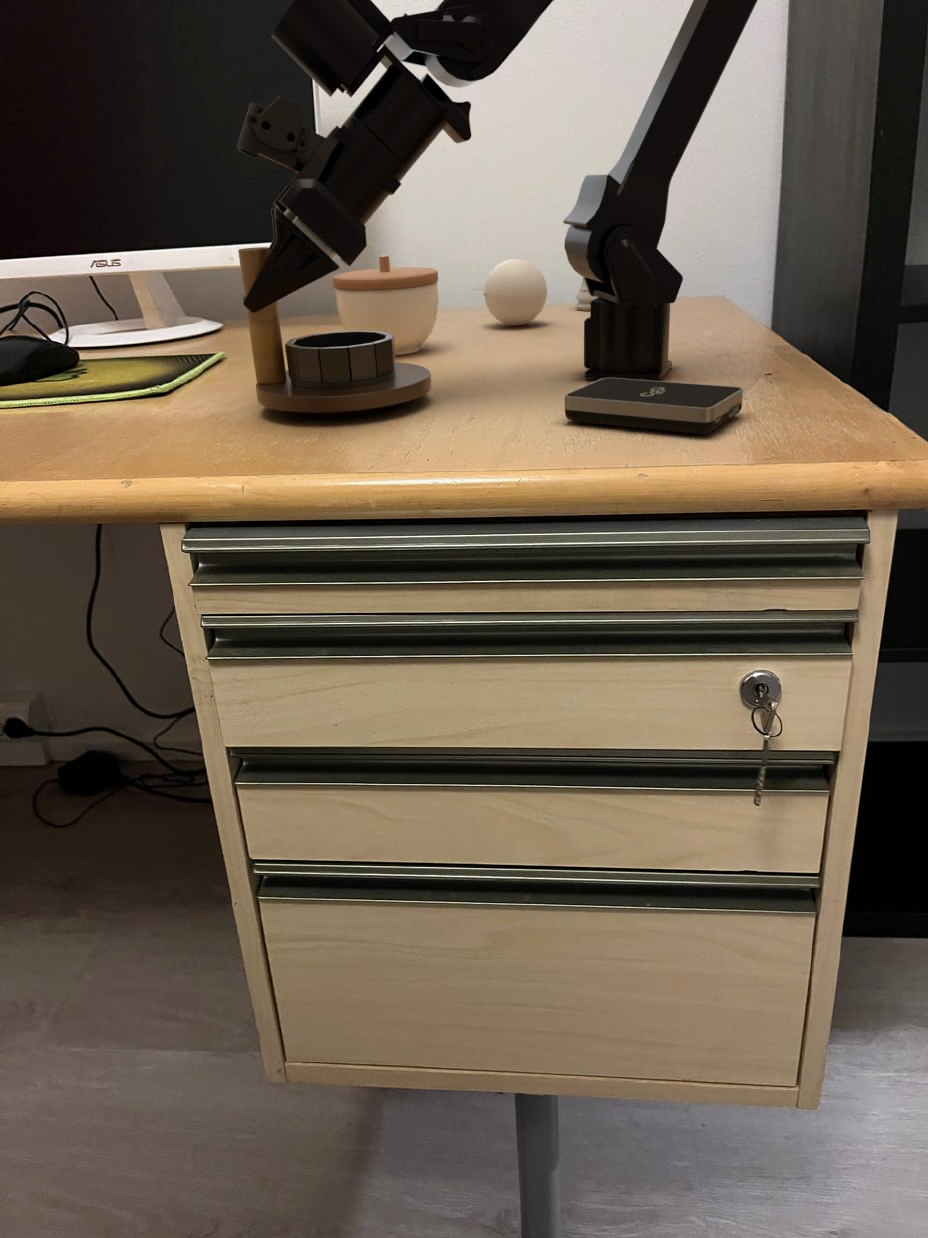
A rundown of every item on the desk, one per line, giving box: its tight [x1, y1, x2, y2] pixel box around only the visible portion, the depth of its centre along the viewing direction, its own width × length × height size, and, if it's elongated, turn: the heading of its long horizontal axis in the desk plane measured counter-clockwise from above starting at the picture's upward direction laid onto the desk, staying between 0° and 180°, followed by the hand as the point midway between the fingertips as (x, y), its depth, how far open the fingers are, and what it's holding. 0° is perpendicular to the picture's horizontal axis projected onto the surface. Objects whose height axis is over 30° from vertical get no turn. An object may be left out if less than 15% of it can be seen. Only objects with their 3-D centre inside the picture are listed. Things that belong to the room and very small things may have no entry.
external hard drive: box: [564, 378, 744, 435], centre depth 68 cm, size 7×11×2 cm, turn 56°
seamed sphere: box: [470, 258, 548, 326], centre depth 111 cm, size 10×7×7 cm
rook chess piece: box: [575, 276, 598, 312], centre depth 120 cm, size 4×4×8 cm
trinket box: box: [332, 255, 439, 356], centre depth 98 cm, size 11×11×9 cm
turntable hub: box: [299, 405, 394, 418], centre depth 77 cm, size 8×8×1 cm
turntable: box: [237, 246, 432, 413], centre depth 75 cm, size 14×14×11 cm
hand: (247, 306), depth 75 cm, fingers open, 3 cm apart
